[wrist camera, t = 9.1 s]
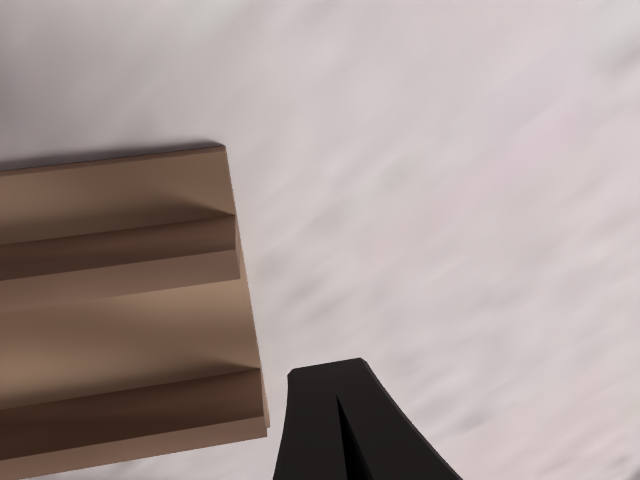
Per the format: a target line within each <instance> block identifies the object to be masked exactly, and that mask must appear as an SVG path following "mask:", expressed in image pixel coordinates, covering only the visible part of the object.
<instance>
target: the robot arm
mask: <svg viewBox="0 0 640 480" xmlns="http://www.w3.org/2000/svg"><path fill="white" fill-rule="evenodd" d="M287 377H288V396H287V407H286V415H285V421H284V428H283V434H282V439H281V444H280V448H279V453H278V458H277V462H276V467H275V472H274V476H273V480H463V479H462V478H461V477H460V476H459V475H458V474H457V473H456V472H455V471H454V470H453V469H452V468H451V467H450V466H449V464H448V463H447V462H446V461H445V460H444V459H443V458H442V457H441V456H440V455H439V454H438V453H437V451H436V450H435V449H434V448H433V447H432V446H431V444H430V443H429V442H428V441H427V440H426V439H425V438H424V436H423V435H422V434H421V433H420V432H419V431H418V430H417V428H416V427H415V426H414V425H413V424H412V423H411V421H410V420H409V419H408V418H407V417H406V415H405V414H404V413H403V412H402V410H401V409H400V408H399V407H398V405H397V404H396V403H395V401H394V400H393V399H392V398H391V396H390V395H389V394H388V392H387V391H386V390H385V388H384V387H383V386H382V384H381V383H380V381H379V380H378V379H377V377H376V376H375V374H374V373H373V371H372V370H371V368H370V367H369V365H368V363H367V362H366V361H365V360H363V359H362V358H355V359H349V360H343V361H337V362H331V363H325V364H319V365H313V366H307V367H301V368H295V369H292V371H291V372H290V373H289V374H288V375H287Z"/></svg>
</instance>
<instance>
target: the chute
mask: <svg viewBox="0 0 640 480" xmlns="http://www.w3.org/2000/svg"><path fill="white" fill-rule="evenodd" d="M269 427H270V419H269V412H268V406H267V399H266V393H265V387H264V381H263V375H262V369H261V363H260V356H259V350H258V344H257V338H256V332H255V326H254V320H253V313H252V307H251V301H250V295H249V289H248V283H247V276H246V270H245V264H244V258H243V252H242V246H241V240H240V233H239V227H238V221H237V215H236V209H235V203H234V196H233V190H232V184H231V178H230V172H229V166H228V160H227V153H226V147H225V146H219V147H210V148H201V149H192V150H183V151H175V152H166V153H157V154H148V155H139V156H130V157H122V158H113V159H104V160H95V161H86V162H78V163H69V164H60V165H51V166H42V167H33V168H25V169H16V170H7V171H0V480H19V479H25V478H31V477H37V476H42V475H48V474H54V473H60V472H66V471H71V470H77V469H83V468H89V467H95V466H100V465H106V464H112V463H118V462H124V461H129V460H135V459H141V458H147V457H153V456H158V455H164V454H170V453H176V452H181V451H187V450H193V449H199V448H205V447H210V446H216V445H222V444H228V443H234V442H239V441H245V440H251V439H257V438H263V437H267V428H269Z"/></svg>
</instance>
